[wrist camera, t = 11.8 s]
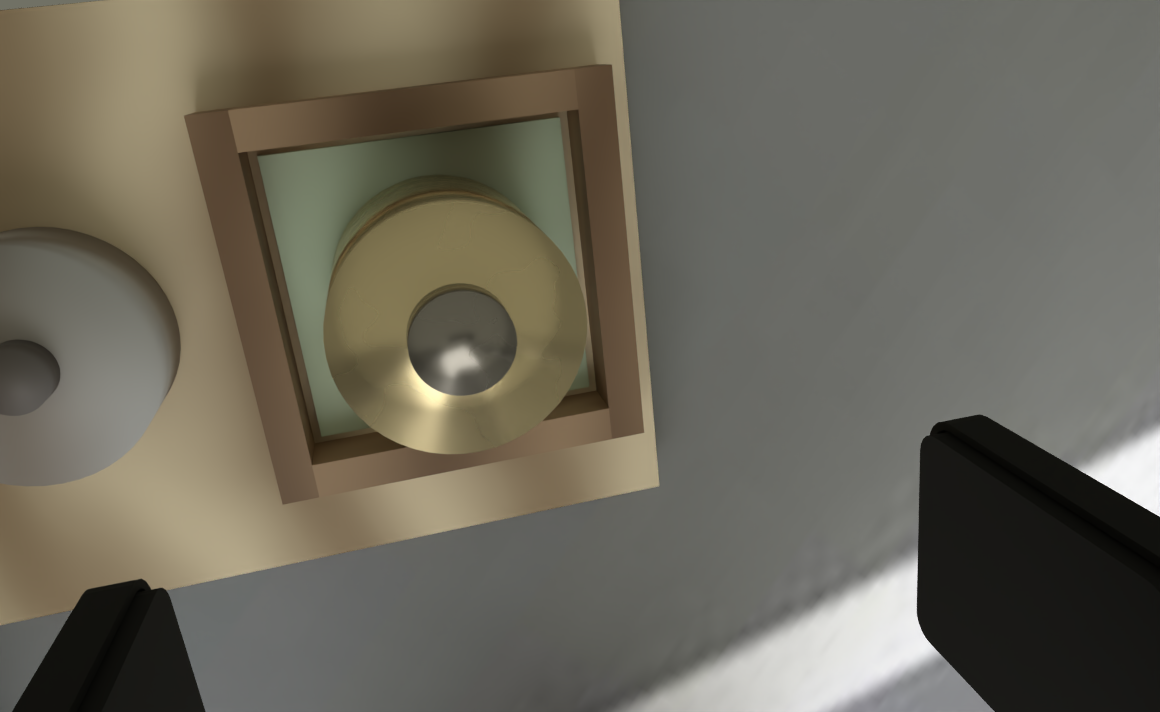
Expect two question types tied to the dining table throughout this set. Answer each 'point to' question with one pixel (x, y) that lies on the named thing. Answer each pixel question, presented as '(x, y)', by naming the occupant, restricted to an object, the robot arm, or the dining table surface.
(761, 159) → the dining table surface
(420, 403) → the gold round vessel
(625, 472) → the carrier
